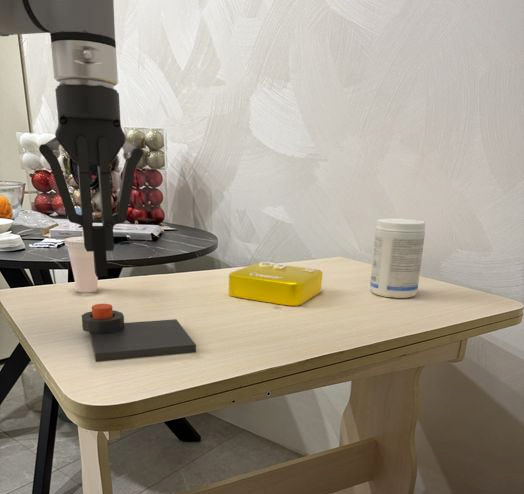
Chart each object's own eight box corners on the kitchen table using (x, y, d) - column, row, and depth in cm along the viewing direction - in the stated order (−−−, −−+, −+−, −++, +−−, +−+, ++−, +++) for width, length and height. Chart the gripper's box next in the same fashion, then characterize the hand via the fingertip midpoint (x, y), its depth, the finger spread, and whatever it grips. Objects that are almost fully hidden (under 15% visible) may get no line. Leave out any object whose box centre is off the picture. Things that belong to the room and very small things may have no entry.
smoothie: (109, 287, 102) (105, 214, 97) (96, 295, 96) (91, 217, 91) (78, 285, 103) (71, 212, 98) (63, 293, 97) (55, 215, 92)
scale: (88, 363, 65) (87, 340, 64) (82, 330, 77) (80, 311, 76) (196, 352, 70) (196, 331, 69) (174, 323, 82) (174, 305, 81)
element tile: (224, 296, 99) (225, 271, 98) (257, 281, 112) (258, 259, 111) (298, 307, 94) (299, 281, 92) (323, 291, 107) (325, 267, 105)
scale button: (93, 321, 73) (92, 309, 72) (91, 315, 75) (91, 304, 75) (114, 320, 74) (113, 308, 73) (111, 314, 76) (111, 302, 76)
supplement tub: (423, 293, 108) (434, 221, 103) (406, 302, 101) (417, 224, 96) (380, 285, 113) (388, 216, 108) (360, 293, 106) (368, 219, 101)
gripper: (29, 77, 59) (51, 282, 67) (145, 87, 63) (153, 278, 71) (30, 85, 65) (50, 271, 73) (136, 93, 70) (144, 267, 78)
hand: (101, 274), depth 72 cm, fingers closed
